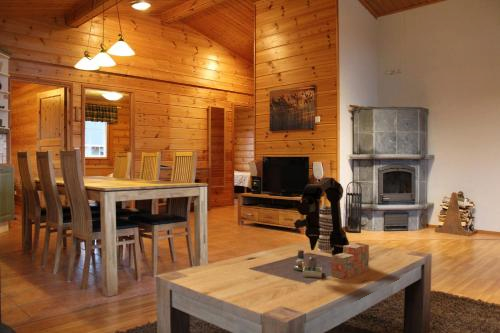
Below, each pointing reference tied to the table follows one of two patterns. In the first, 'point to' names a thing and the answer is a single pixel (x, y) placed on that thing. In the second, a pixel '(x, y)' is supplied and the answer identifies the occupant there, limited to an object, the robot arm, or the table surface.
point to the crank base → (299, 267)
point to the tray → (312, 272)
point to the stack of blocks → (350, 261)
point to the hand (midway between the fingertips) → (312, 248)
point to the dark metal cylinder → (312, 264)
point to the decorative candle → (325, 229)
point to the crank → (300, 258)
